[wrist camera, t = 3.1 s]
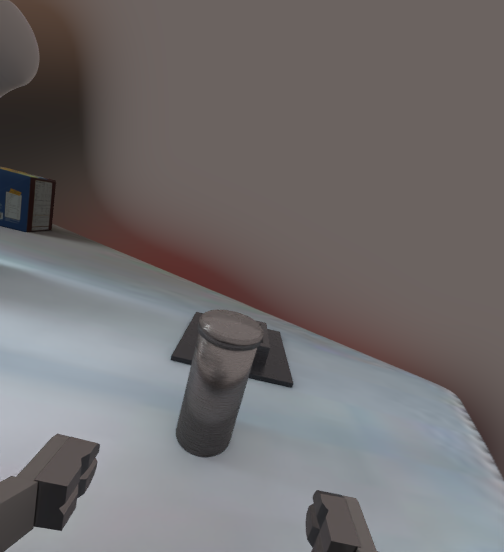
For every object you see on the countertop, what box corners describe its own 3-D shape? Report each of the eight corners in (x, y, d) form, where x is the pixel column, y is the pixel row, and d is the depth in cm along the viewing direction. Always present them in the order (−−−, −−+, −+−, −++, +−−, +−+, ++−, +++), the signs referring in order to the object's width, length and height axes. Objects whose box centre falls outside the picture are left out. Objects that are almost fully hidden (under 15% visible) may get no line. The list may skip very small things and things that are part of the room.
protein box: (0, 218, 83) (3, 166, 80) (52, 230, 84) (57, 180, 81) (-33, 218, 73) (-31, 159, 69) (26, 232, 74) (31, 175, 71)
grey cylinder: (165, 451, 21) (193, 328, 19) (182, 405, 27) (205, 304, 24) (230, 465, 22) (266, 345, 19) (234, 416, 27) (262, 317, 25)
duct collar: (170, 359, 34) (175, 338, 33) (195, 314, 49) (199, 299, 49) (292, 387, 35) (298, 367, 34) (278, 334, 50) (283, 320, 50)
